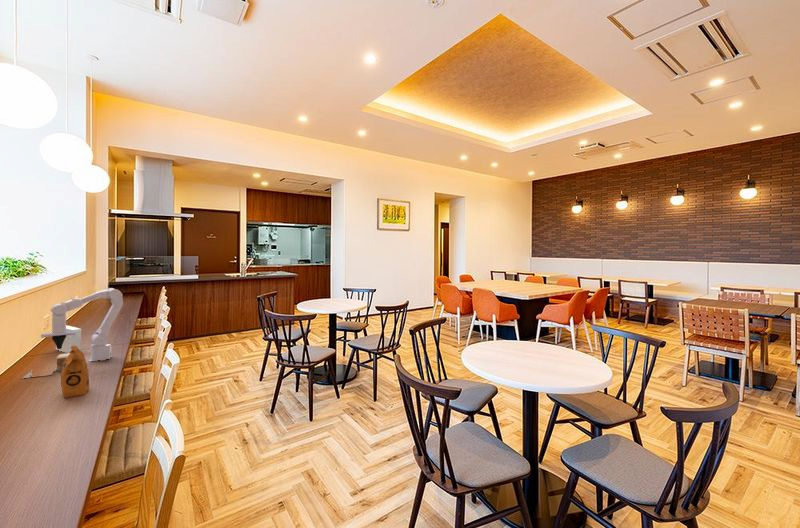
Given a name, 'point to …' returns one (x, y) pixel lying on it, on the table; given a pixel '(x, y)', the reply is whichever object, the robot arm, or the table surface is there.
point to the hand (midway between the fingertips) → (59, 348)
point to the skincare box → (71, 340)
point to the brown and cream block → (61, 361)
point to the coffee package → (74, 374)
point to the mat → (34, 376)
